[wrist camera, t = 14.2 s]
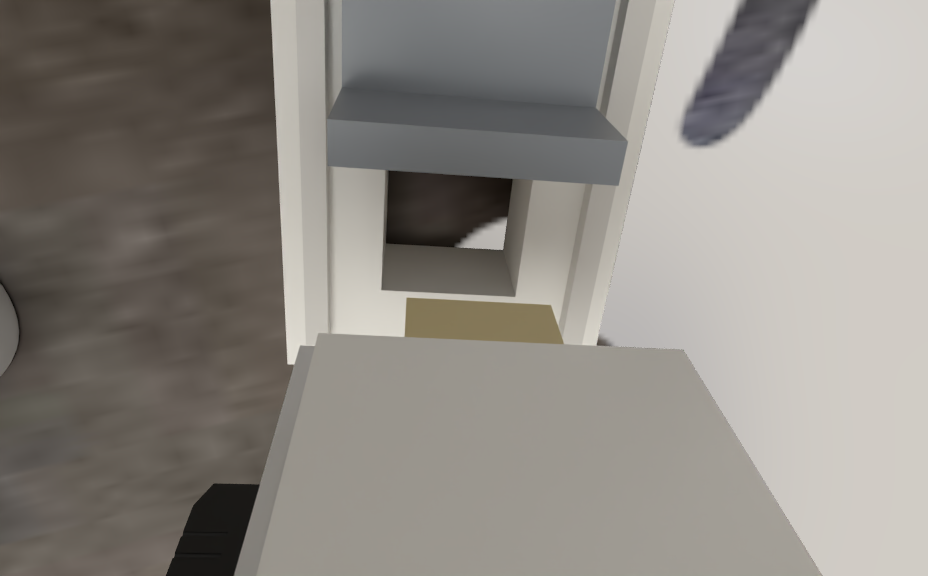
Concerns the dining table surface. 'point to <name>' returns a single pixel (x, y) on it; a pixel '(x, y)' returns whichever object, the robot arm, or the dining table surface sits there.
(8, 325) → the mug
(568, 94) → the grey l-shaped bracket
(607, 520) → the plug
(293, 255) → the cream railed base block
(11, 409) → the dining table surface
